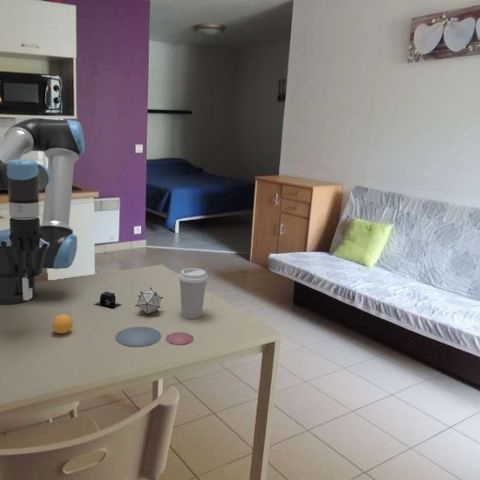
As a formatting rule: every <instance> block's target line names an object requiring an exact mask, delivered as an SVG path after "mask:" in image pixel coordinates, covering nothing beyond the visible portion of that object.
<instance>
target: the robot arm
mask: <svg viewBox="0 0 480 480" xmlns="http://www.w3.org/2000/svg"><path fill="white" fill-rule="evenodd" d="M85 147H86V146H85V136H84V130H83V127H82V124H81V123H80V122H79V121H78V120H72V119H54V118H41V117H40V118H39V117H34V118H33V117H31V118H28V119H24V120H23V121H19V122H17V123H16V124H13V125H12V126H11V127H9V128H8V129H7V130H6V131H5V133H4V135H3V139H2V140H1V141H0V190H7V191H8V192H7V193H8V210H9V211H8V213H9V216H10V218H9V228H6V229H2V230H0V305H14V304H15V305H16V304H21V303H24V302H29V301H31V300H33V299H34V298H36V296H37V286H36V277H38V276H39V275H41V274H42V272H43V269H55V270H58V269H60V270H61V269H68V268H70V267H71V266H72V265H73V263H74V260H75V259H76V254H77V249H78V237H77V235H76V234H74V230H73V229H72V228H71V226H70V215H71V205H72V204H71V203H72V193H73V191H72V190H73V180H74V170H75V167H74V166H75V163H76V162H77V161H79V159H80V155H83V154H84V153H85V152H86V151H85V150H86V148H85ZM30 152H43V153H44V154H43V155H44V156H45V157H46V158H47V160H48V162H47V167H46V166H44V165H43V164H40V163H37V162H36V160H33V159H21V158H22V157H23V156H24V155H26V154H29V153H30ZM44 188H45V190H44V191H45V192H44V199H43V200H44V202H43V212H42V221H40V218H39V216H40V198H39V196H40V195H39V191H42V190H43V189H44ZM40 222H41V223H40Z"/></svg>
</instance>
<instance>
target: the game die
mask: <svg viewBox="0 0 480 480" xmlns="http://www.w3.org/2000/svg"><path fill="white" fill-rule="evenodd" d="M149 288H150V289H149V290H146V291H139V292H140V295H139V294H138V295H137V297H138V301H137V304H136V305H134V307H138V308H139V309H140V310H141V311H142V312H144V313H146V317H148V316H149V314H151V313H154V312H156V313H157V312H159V309H161V306H160V305H161V300H162V299H164V296H160V295H159V294H157V291H156V292H155V291H153V290H152V286H151V287H149Z"/></svg>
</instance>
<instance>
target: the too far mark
mask: <svg viewBox="0 0 480 480" xmlns="http://www.w3.org/2000/svg"><path fill="white" fill-rule="evenodd" d="M165 341H166V342H167V343H169V344H170V345H171V344H172V345H175V346H185V345H188V344H189V345H190V343H192V342H193V341H194V336H193V335H192V334H190V333H187V332H184V331H183V332H179V331H178V332H176V331H175V332H172V333H169V334H168V335H166V336H165Z"/></svg>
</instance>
